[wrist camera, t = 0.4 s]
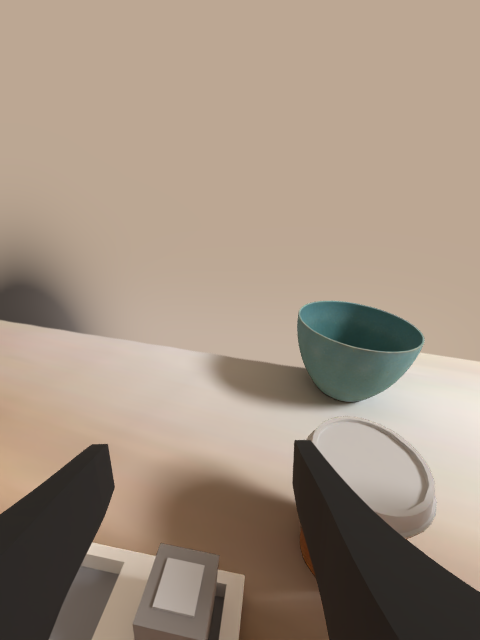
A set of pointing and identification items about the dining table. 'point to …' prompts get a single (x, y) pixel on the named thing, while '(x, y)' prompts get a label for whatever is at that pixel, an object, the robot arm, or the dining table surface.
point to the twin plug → (178, 596)
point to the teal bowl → (355, 348)
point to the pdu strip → (131, 598)
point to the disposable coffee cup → (378, 473)
